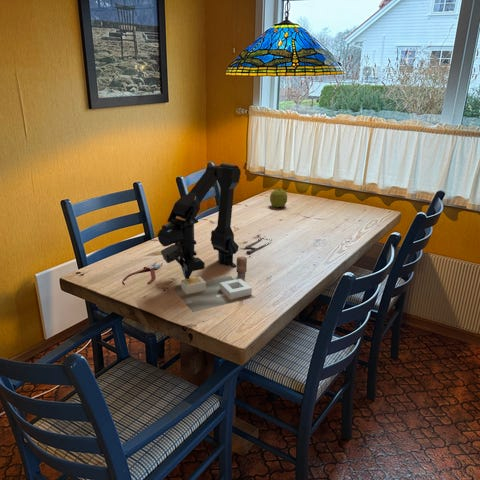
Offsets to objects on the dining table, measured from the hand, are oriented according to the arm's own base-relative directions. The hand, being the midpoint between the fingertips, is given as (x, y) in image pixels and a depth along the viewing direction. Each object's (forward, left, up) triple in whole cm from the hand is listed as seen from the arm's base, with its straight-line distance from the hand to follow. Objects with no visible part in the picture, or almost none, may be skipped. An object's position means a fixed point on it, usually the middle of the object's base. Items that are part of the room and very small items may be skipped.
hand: (186, 279), depth 155 cm
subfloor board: (+11, +5, -2) cm, 13 cm away
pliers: (-12, -9, -3) cm, 16 cm away
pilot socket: (+14, +12, -1) cm, 19 cm away
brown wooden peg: (+5, +19, -2) cm, 20 cm away
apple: (-69, +82, -3) cm, 107 cm away
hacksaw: (-25, +42, -3) cm, 49 cm away
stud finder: (+6, 0, -1) cm, 6 cm away
